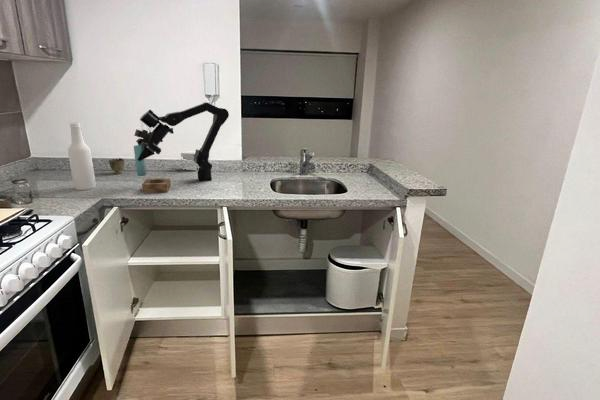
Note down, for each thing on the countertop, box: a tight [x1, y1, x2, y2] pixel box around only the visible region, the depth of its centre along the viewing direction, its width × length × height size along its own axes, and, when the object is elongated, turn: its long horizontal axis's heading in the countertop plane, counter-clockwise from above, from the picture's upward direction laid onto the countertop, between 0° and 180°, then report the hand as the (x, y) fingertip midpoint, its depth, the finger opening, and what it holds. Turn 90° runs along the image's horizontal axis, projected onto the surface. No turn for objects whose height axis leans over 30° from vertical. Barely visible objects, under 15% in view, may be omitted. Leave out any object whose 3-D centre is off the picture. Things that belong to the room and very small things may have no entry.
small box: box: [180, 152, 195, 161], centre depth 204 cm, size 8×6×10 cm
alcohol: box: [67, 122, 97, 191], centre depth 158 cm, size 9×9×30 cm
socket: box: [141, 178, 172, 194], centre depth 163 cm, size 11×11×4 cm
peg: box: [133, 144, 147, 177], centre depth 164 cm, size 4×4×14 cm
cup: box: [108, 157, 125, 175], centre depth 190 cm, size 8×7×8 cm
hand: (136, 159), depth 163 cm, fingers closed on peg, 4 cm apart
